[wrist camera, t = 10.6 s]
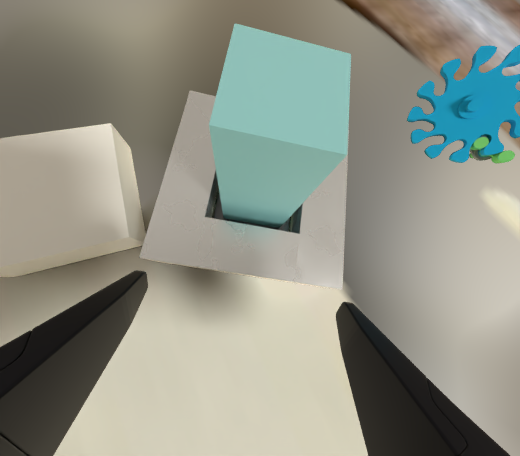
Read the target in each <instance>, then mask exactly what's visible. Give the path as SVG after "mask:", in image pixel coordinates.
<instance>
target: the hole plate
mask: <svg viewBox="0 0 520 456" xmlns="http://www.w3.org/2000/svg"><path fill="white" fill-rule="evenodd" d="M215 99H216V96H212V95H207V94H203V93H199V92H195V91H190V92H189V95H188V99H187V102H186V105H185V108H184V112H183V115H182V118H181V122H180V125H179V129H178V132H177V135H176V138H175V142H174V145H173V148H172V152H171V155H170V158H169V161H168V164H167V167H166V171H165V174H164V177H163V181H162V184H161V187H160V190H159V194H158V197H157V200H156V204H155V207H154V210H153V213H152V217H151V220H150V223H149V227H148V230H147V233H146V236H145V240H144V243H143V246H142V250H141V253H140V256H139V258H142V259H147V260H151V261H156V262H162V263H168V264H175V265H181V266H188V267H194V268H200V269H207V270H213V271H220V272H226V273H232V274H239V275H245V276H252V277H258V278H265V279H271V280H277V281H284V282H290V283H297V284H303V285H309V286H316V287H322V288H331V289H341V290H342V286H343V261H344V260H343V259H344V235H345V211H346V185H347V161H348V148H347V156H346V157H345V158H344V159H343V160H342V161H341V162H340V163H339V164H338V165H337V167H336V168H335V169H334V170H333V171H332V172H331V173H330V174H329V175H328V176H327V177H326V178H325V180H324V181H323V182H322V183H321V184H320V185H319V186H318V187H317V188H316V189H315V190H314V191H313V193H312V194H311V195H310V196H309V197H308V198H307V199H306V200H305V201H304V202H303V203H302V204H301V205H300V207H299V208H298V209H297V210H296V211H295V212H294V213H293V214H292V218H291V227H290V232H288V227H289V219H290V217H289V218H288V220H287V221H286V222H285V223H284V224H283V225H282V226H281V227H280V228H277V227H271V226H265V225H260V224H254V223H249V222H243V221H237V220H232V219H226V218H223V211H222V205H221V199H220V192H219V197H218V201H217V206H216V210H215V215H214V218H212V214H213V209H214V205H215V200H216V196H217V191H218V187H219V186H218V180H217V173H216V167H215V161H214V154H213V148H212V142H211V135H210V129H209V122H210V118H211V115H212V111H213V107H214V103H215ZM348 135H349V127H348Z"/></svg>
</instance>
